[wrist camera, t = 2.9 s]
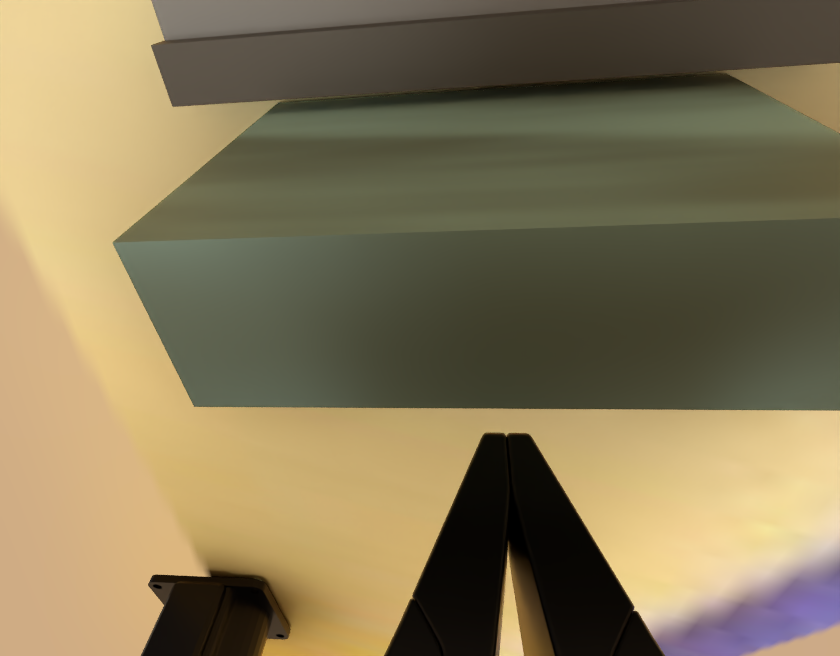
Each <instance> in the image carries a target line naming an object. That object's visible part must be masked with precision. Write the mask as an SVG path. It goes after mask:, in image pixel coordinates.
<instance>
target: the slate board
mask: <svg viewBox="0 0 840 656" xmlns="http://www.w3.org/2000/svg"><path fill="white" fill-rule="evenodd" d="M151 1H152V4H153V7H154V10H155V13H156V15H157V18H158V21H159V24H160V27H161V30H162V33H163V36H164V39H165V41H162V42H159V43H156V44H153V45H151V47H152V50H153V52H154V55H155V58H156V61H157V64H158V67H159V69H160V72H161V75H162V78H163V81H164V84H165V86H166V89H167V92H168V95H169V98H170V101H171V103H172V106H173V107H176V106H191V105H206V104H222V103H237V102H252V101H267V100H282V99H297V98H312V97H328V96H343V95H358V94H373V93H388V92H403V91H418V90H434V89H449V88H464V87H479V86H494V85H509V84H524V83H540V82H555V81H570V80H585V79H600V78H615V77H631V76H646V75H661V74H676V73H691V72H706V71H721V70H737V69H752V68H767V67H782V66H797V65H812V64H827V63H840V0H151Z"/></svg>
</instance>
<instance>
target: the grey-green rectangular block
mask: <svg viewBox="0 0 840 656" xmlns="http://www.w3.org/2000/svg"><path fill="white" fill-rule="evenodd" d="M113 245H114V247H115V249H116V251H117V253H118V255H119V257H120V259H121V261H122V263H123V265H124V267H125V269H126V271H127V273H128V275H129V277H130V279H131V281H132V283H133V285H134V287H135V289H136V291H137V293H138V295H139V297H140V299H141V301H142V303H143V305H144V307H145V309H146V311H147V313H148V315H149V317H150V319H151V321H152V323H153V325H154V327H155V329H156V331H157V333H158V335H159V337H160V339H161V341H162V343H163V345H164V347H165V349H166V351H167V353H168V355H169V357H170V359H171V361H172V363H173V365H174V367H175V369H176V371H177V373H178V375H179V377H180V379H181V381H182V383H183V385H184V387H185V389H186V391H187V393H188V395H189V397H190V399H191V401H192V403H193V405H194V407H338V408H508V409H677V410H840V134H839V133H838V132H836V131H834V130H832V129H830V128H828V127H826V126H824V125H822V124H821V123H819V122H817V121H815V120H813V119H811V118H809V117H807V116H805V115H804V114H802V113H800V112H798V111H796V110H794V109H792V108H790V107H789V106H787V105H785V104H783V103H781V102H779V101H777V100H775V99H773V98H772V97H770V96H768V95H766V94H764V93H762V92H760V91H758V90H756V89H755V88H753V87H751V86H749V85H747V84H745V83H743V82H741V81H740V80H738V79H736V78H734V77H732V76H730V75H728V74H726V73H724V74H709V75H694V76H678V77H663V78H648V79H632V80H617V81H602V82H586V83H571V84H556V85H540V86H525V87H510V88H494V89H479V90H464V91H448V92H433V93H418V94H402V95H387V96H372V97H356V98H341V99H326V100H310V101H295V102H280V103H278V104H276V105H275V106H274V107H273V108H272V109H270V110H269V111H268V112H267V113H266V114H264V115H263V116H262V117H261V118H260V119H259V120H257V121H256V122H255V123H254V124H253V125H251V126H250V127H249V128H248V129H247V130H246V131H244V132H243V133H242V134H241V135H240V136H238V137H237V138H236V139H235V140H234V141H232V142H231V143H230V144H229V145H228V146H227V147H225V148H224V149H223V150H222V151H221V152H219V153H218V154H217V155H216V156H215V157H213V158H212V159H211V160H210V161H209V162H208V163H206V164H205V165H204V166H203V167H202V168H200V169H199V170H198V171H197V172H196V173H195V174H193V175H192V176H191V177H190V178H189V179H187V180H186V181H185V182H184V183H183V184H181V185H180V186H179V187H178V188H177V189H176V190H174V191H173V192H172V193H171V194H170V195H168V196H167V197H166V198H165V199H164V200H162V201H161V202H160V203H159V204H158V205H157V206H155V207H154V208H153V209H152V210H151V211H149V212H148V213H147V214H146V215H145V216H143V217H142V218H141V219H140V220H139V221H138V222H136V223H135V224H134V225H133V226H132V227H130V228H129V229H128V230H127V231H126V232H125V233H123V234H122V235H121V236H120V237H119V238H117V239H116V240H115V241H114V242H113Z"/></svg>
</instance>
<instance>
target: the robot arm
mask: <svg viewBox="0 0 840 656" xmlns="http://www.w3.org/2000/svg"><path fill="white" fill-rule="evenodd" d="M507 552H509V560H510V568H511V574H512V581H513V587H514V593H515V600H516V606H517V613H518V619H519V625H520V632H521V638H522V645H523V651H524V656H665V655H664V653H663V652H662V650H661V648H660V647H659V645H658V644H657V642H656V641H655V639H654V638H653V636H652V634H651V633H650V631H649V629H648V628H647V626H646V624H645V623H644V621H643V620H642V618H641V616H640V615H639V613H638V612H637V611H633V610H634V605H633V603H632V602H631V600H630V598H629V597H628V595H627V594H626V592H625V590H624V589H623V587H622V585H621V584H620V582H619V580H618V579H617V577H616V575H615V574H614V572H613V570H612V569H611V567H610V565H609V564H608V562H607V561H606V559H605V557H604V556H603V554H602V552H601V551H600V549H599V547H598V546H597V544H596V542H595V541H594V539H593V537H592V536H591V534H590V532H589V531H588V529H587V527H586V526H585V524H584V523H583V521H582V519H581V518H580V516H579V514H578V513H577V511H576V509H575V508H574V506H573V504H572V503H571V501H570V499H569V498H568V496H567V494H566V493H565V491H564V490H563V488H562V486H561V485H560V483H559V481H558V480H557V478H556V476H555V475H554V473H553V471H552V470H551V468H550V466H549V465H548V463H547V461H546V460H545V458H544V457H543V455H542V453H541V452H540V450H539V448H538V447H537V445H536V443H535V442H534V440H533V438H532V437H531V436H530V435H529V434H527V433H509V434H508V435H507V437H506V435H505V434H504V433H485V434H483V436H482V438H481V440H480V442H479V444H478V447H477V449H476V451H475V454H474V456H473V458H472V460H471V463H470V465H469V467H468V469H467V472H466V474H465V476H464V479H463V481H462V483H461V485H460V488H459V490H458V492H457V495H456V497H455V499H454V501H453V504H452V506H451V508H450V510H449V513H448V515H447V517H446V520H445V522H444V524H443V526H442V529H441V531H440V533H439V536H438V538H437V540H436V542H435V545H434V547H433V549H432V551H431V554H430V556H429V558H428V561H427V563H426V565H425V567H424V570H423V572H422V574H421V577H420V579H419V581H418V583H417V586H416V588H415V590H414V592H413V595H412V596H413V599H411V600H410V601H409V603H408V605H407V608H406V610H405V612H404V615H403V617H402V619H401V621H400V623H399V626H398V628H397V630H396V632H395V634H394V636H393V638H392V640H391V642H390V644H389V646H388V649H387V651H386V653H385V655H384V656H499V650H500V639H501V627H502V615H503V604H504V592H505V580H506V568H507ZM148 586H149V587H150V588H151V589H152V591H153V592H154V593H155V594H156V596H157V597H158V598H159V599H160V600H161V602H162V603H163V604H164V607H163V609H162V611H161V613H160V615H159V618H158V620H157V622H156V624H155V627H154V628H153V631H152V633H151V635H150V637H149V639H148V641H147V644H146V646H145V648H144V650H143V652H142V654H141V656H262V653H263V649H264V646H265V643H266V639H288V637H289V634H290V628H289V626H288V624H287V622H286V620H285V618H284V616H283V615H282V613H281V611H280V609H279V607H278V605H277V603H276V602H275V600H274V598H273V596H272V594H271V592H270V590H269V588H268V587H267V585H266V583H265V582H263V581H261V580H257V579H241V578H219V577H197V576H174V575H153V576H152V578H151V580H150V582H149V584H148Z"/></svg>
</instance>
